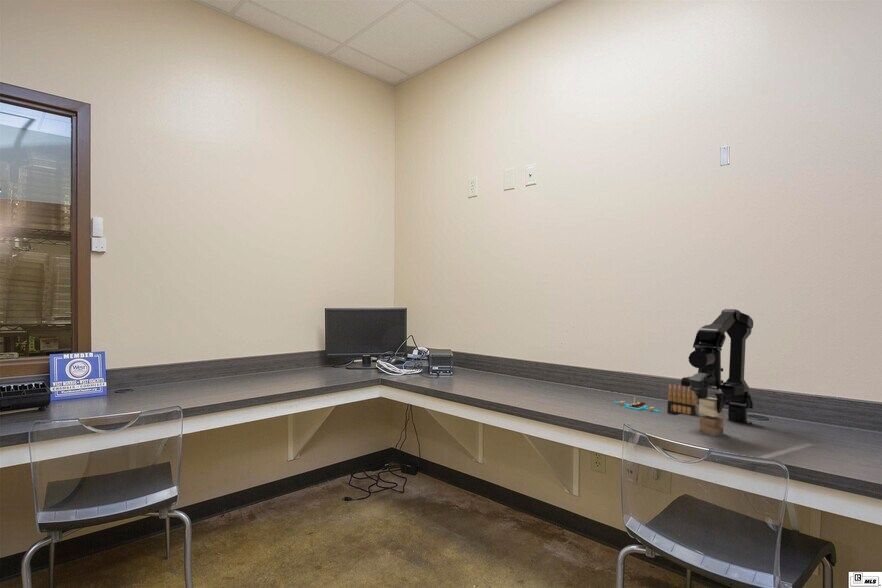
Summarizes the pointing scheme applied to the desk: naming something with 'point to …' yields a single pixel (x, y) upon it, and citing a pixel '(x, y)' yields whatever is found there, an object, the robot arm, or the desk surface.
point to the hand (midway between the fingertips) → (711, 411)
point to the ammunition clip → (681, 401)
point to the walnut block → (711, 425)
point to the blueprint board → (712, 435)
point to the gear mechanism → (637, 406)
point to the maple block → (709, 407)
